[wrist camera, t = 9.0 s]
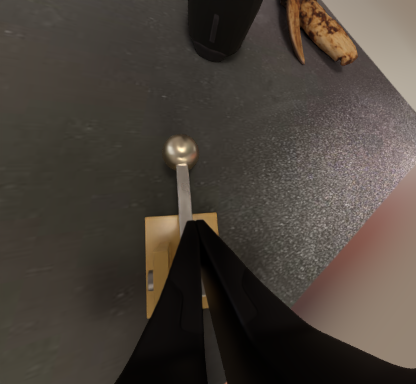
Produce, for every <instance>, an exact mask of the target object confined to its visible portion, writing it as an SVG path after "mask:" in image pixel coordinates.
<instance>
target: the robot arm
mask: <svg viewBox="0 0 416 384" xmlns="http://www.w3.org/2000/svg"><path fill="white" fill-rule="evenodd" d="M201 278H202V281H201ZM202 282H203V286H204V290H205V294H206V298H207V302H208V306H209V311H210V315H211V319H212V323H213V327H214V331H215V335H216V339H217V343H218V347H219V351H220V355H221V359H222V364H223V368H224V370H225V376H226V380H227V384H416V368H415V369H410V368H403V367H400V366H397V365H393V364H391V363H389V362H386V361H384V360H381V359H379V358H377V357H375V356H373V355H371V354H368V353H366V352H364V351H362V350H360V349H358V348H355V347H353V346H351V345H349V344H347V343H345V342H342V341H340V340H338V339H336V338H333V337H332V336H329V335H327V334H325V333H322V332H321V331H319V330H317V329H315V328H314V327H312V326H311V325H309V324H308V323H306V322H305V321H304V320H302V319H301V318H300V317H299V316H298V315H296V314H295V313H294V312H293V311H292V310H291V309H290V308H289V307H288V306H287V305H286V304H284V303H283V302H282V301H281V300H280V299H279V298H278V297H277V296H275V295H274V294H273V293H272V292H271V291H270V290H269V289H268V288H267V287H266V286H265V285H264V284H263V283H262V282H261V281H260V280H259V279H258V278H257V277H256V276H255V275H254V274H253V273H252V272H251V271H250V270H249V269H248V268H247V267H246V266H245V264H244V263H243V262H242V261H241V260H240V259H239V258H238V257H237V256H236V255H235V254H234V252H233V251H232V250H231V249H230V248H229V247H228V246H227V245H226V244H225V243H224V241H223V240H222V239H221V238H220V237H219V236H218V235H217V234H216V233H215V232H214V231H213V229H212V228H211V227H210V226H209V225H208V224H207V223H206V222H205V221H204V220H203V219H201V220H196V221H195V220H188V221H187V222H186V225H185V227H184V230H183V233H182V236H181V239H180V242H179V245H178V247H177V250H176V253H175V256H174V259H173V262H172V265H171V267H170V270H169V273H168V276H167V279H166V281H165V284H164V287H163V290H162V292H161V295H160V297H159V300H158V302H157V304H156V306H155V309H154V311H153V313H152V315H151V317H150V319H149V321H148V323H147V325H146V327H145V329H144V331H143V333H142V335H141V337H140V339H139V341H138V343H137V345H136V347H135V349H134V351H133V353H132V355H131V357H130V359H129V361H128V363H127V364H126V366H125V368H124V370H123V371H122V373H121V374H120V376H119V378H118V379H117V380H116V382H115V383H114V384H208V381H207V372H206V362H205V349H204V328H203V304H202Z"/></svg>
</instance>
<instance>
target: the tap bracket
mask: <svg viewBox="0 0 416 384" xmlns="http://www.w3.org/2000/svg"><path fill="white" fill-rule="evenodd" d="M192 218H193V220H195V221H196V220H201V219H203V220H204V221H205V222H206V223H207V224H208V225H209V226H210V227H211V228H212V229H213V231H214V232H215V233H216V234H217V235H218V225H217V213H216V212H214V213H199V214H192ZM145 239H146V294H147V318H150V317H151V315H152V313H153V311H154V309H155V306H156V304H157V302H158V300H159V297H160V295H161V292H162V290H163V287H164V284H165V281H166V279H167V276H168V273H169V270H170V267H171V265H172V262H173V259H174V256H175V253H176V250H177V247H178V245H179V242H180V229H179V215H170V216H155V217H145ZM202 304H203V309H205V308H209V306H208V302H207V298H206V296H204V297H202Z"/></svg>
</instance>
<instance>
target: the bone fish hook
mask: <svg viewBox="0 0 416 384" xmlns="http://www.w3.org/2000/svg"><path fill="white" fill-rule="evenodd" d="M280 1H281V5H283V6H284V7H285V8H286V13H287V25H288V31H289V36H290V40H291V43H292V47H293V50H294V52H295V55H296V57H297V58H298V60H299V61H300V62H301V63H302V64H304V65H305V59H304V54H303V50H302V42H301V35H300V27H301V28H303V29H304V31H305V33H306V34H307V35H308V36H309V38H310V39H311V40H312V41H313V42H314V43H315V44H316V45H317V46H318V47H319V48H320V49H321V50H323V51H324V52H325V53H326V54H328V55H329V56H330V57H331V58H332V59H333V60H334V61H338V60H341V63H340V64H341V65H342V66H345V65H347V64H350V63H352V62H353V61H354V60H356V58H357V57H358V56H357V50H356V47H355V45H354V44H353V42H352V41H351V39H350V38H349V37H348V35H347V34H346V32H345V31H344V29H343V28H342V27H341V26H340V25H339V24H338V23H337V22H336V20H334V19H332V18H331V17H330V16H328V15H327V13H326V12H325V10H324V9H323V8H322V7H321V6H320V5H319V4H318V3H317V0H280Z"/></svg>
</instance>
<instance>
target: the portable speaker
mask: <svg viewBox="0 0 416 384" xmlns="http://www.w3.org/2000/svg"><path fill="white" fill-rule="evenodd" d="M262 1H263V0H188V26H189V32H190V36H191V38H192V40H193V42H194V46H195V50H196V51H197V53H198V54H199V56H201V57H203V58H206V59H208V60H210V61H216V62H220V61H221V60H222V59H224V58H225V57H226V56H229V55H232V54H234V53H235V52H236V51H237V50H238V49H239V48H240V46H241V44H242V42H243V40H244V38H245V36H246V34H247V32H248V30H249V28H250V26H251V24H252V22H253V20H254V19H255V17H256V15H257V13H258V11H259V9H260V6H261V4H262Z"/></svg>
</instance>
